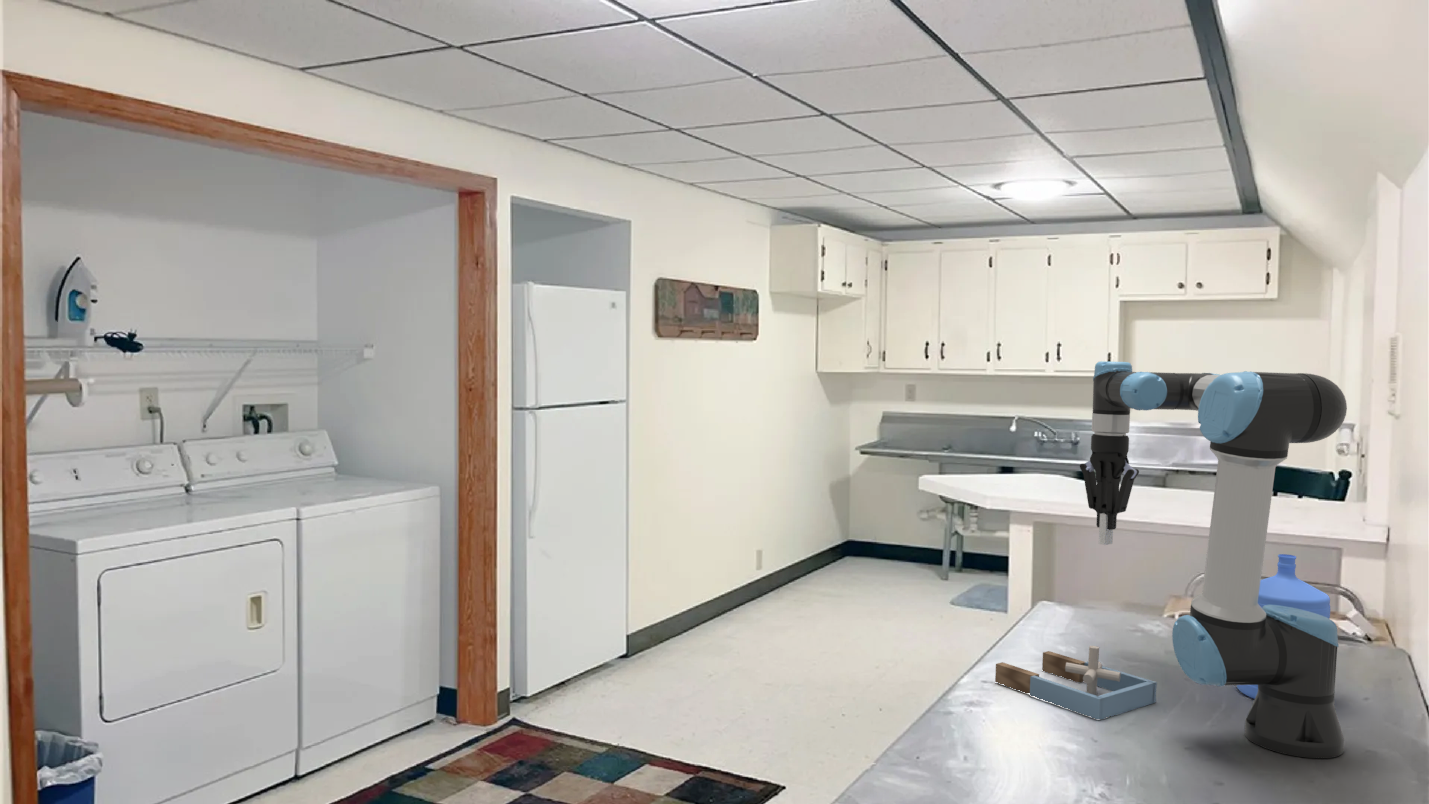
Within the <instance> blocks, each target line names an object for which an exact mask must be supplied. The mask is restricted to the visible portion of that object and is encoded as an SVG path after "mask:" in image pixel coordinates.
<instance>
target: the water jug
mask: <svg viewBox="0 0 1429 804" xmlns="http://www.w3.org/2000/svg"><path fill="white" fill-rule="evenodd" d="M1277 557H1278V562H1277V571H1276V574H1275V575H1273V576H1269V577H1266V578H1263V579H1262V578H1261V581H1260V589H1259V597H1258V604H1259V605H1260V607H1261V608H1262V607H1263V606H1265V605H1279V606H1286V607H1291V608H1296V609H1301V610H1305V611H1309V612H1312V613H1316V614H1319V615H1322V616H1324V617H1327V618H1329V619H1330V618H1331V604H1330V603H1331V599H1330V596H1329V595H1328V594H1327V593H1326V592H1324V591H1322V590H1321V589H1318V588H1316V587H1314V585H1311V584H1309V583H1307V582H1306V581H1304V580H1302V579H1299V578H1298V577H1297V576H1296V568H1297V564H1296V559H1297V556H1296V555H1292V554H1286V553H1279V554H1277ZM1236 687H1237V688H1236V689H1238V691H1239V692H1240V693H1242V694H1243V695H1245V696H1247V697H1249V698H1251V699H1253V700H1255V697H1256V695H1257V692H1258V685H1236Z"/></svg>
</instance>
